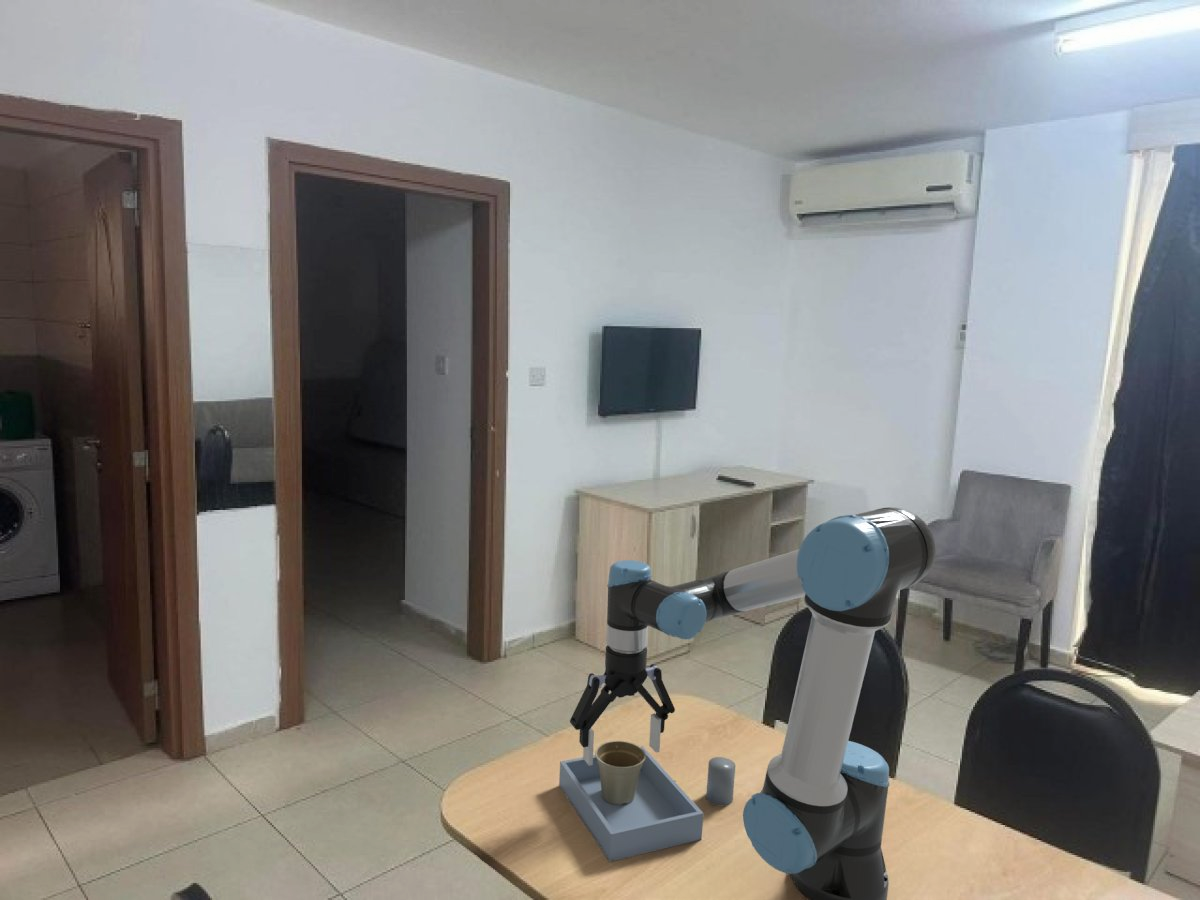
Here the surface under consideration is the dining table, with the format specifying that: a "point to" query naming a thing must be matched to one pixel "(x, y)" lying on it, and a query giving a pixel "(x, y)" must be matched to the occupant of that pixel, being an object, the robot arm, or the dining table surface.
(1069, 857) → the dining table surface
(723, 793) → the canister
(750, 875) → the dining table surface
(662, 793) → the tote
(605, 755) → the flower pot
